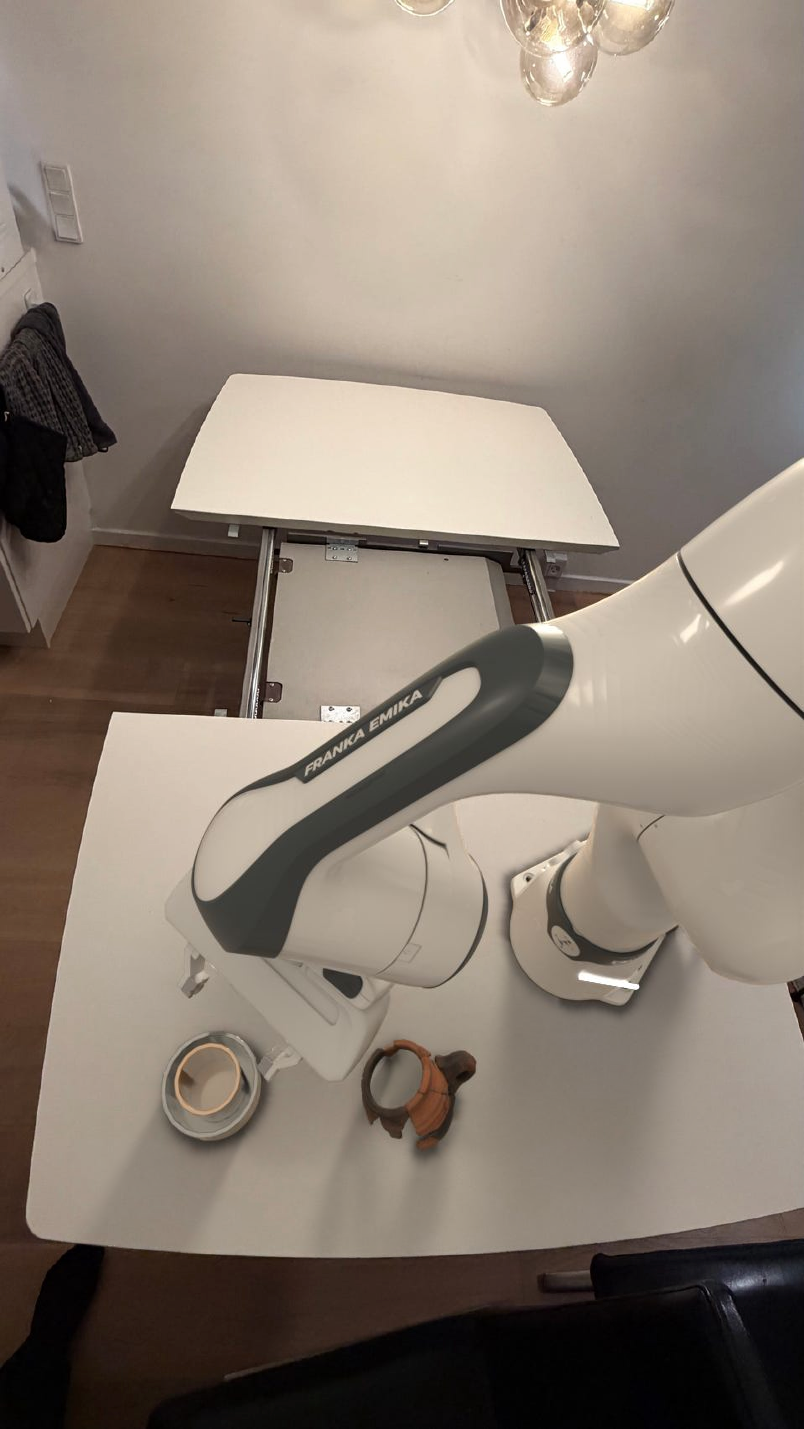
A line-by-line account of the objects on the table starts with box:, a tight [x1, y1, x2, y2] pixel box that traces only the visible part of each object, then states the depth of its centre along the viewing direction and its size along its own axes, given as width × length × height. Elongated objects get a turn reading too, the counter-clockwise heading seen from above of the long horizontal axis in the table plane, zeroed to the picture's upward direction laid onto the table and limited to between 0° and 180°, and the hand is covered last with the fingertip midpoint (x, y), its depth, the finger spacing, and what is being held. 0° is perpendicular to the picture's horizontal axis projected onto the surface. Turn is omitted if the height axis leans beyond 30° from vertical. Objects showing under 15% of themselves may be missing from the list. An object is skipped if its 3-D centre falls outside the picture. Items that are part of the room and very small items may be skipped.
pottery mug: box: [360, 1038, 477, 1151], centre depth 68 cm, size 12×10×8 cm
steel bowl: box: [160, 1030, 262, 1142], centre depth 65 cm, size 9×9×6 cm
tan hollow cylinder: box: [174, 1043, 246, 1122], centre depth 64 cm, size 6×6×9 cm
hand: (226, 1029), depth 55 cm, fingers open, 8 cm apart
